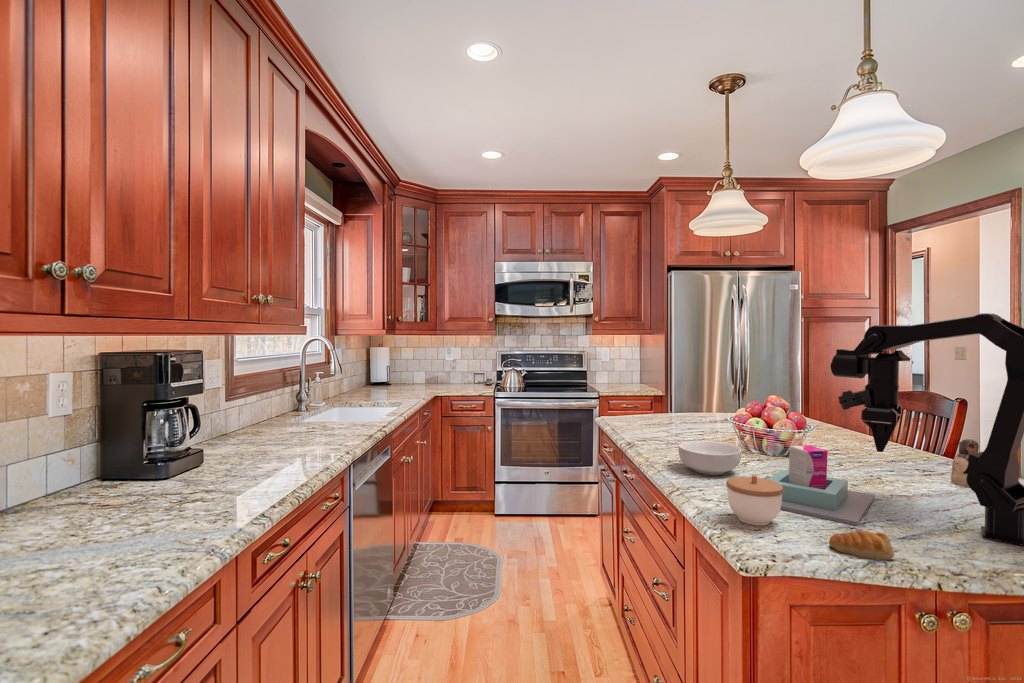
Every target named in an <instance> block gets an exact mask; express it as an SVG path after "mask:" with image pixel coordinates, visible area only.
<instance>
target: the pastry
mask: <svg viewBox="0 0 1024 683" xmlns="http://www.w3.org/2000/svg"><path fill="white" fill-rule="evenodd" d="M828 545H829V546H830V547H832V548H833V549H834V550H836V551H838V552H840V553H843V554H848V555H852V556H856V557H859V558H860V557H861V558H868V559H875V560H884V561H891V560H893V558H894V557H895V553H894V548H893V546H892V544H891V539H890V537H889V536H888V535H887V534H886V533H885V532H884V533H883V532H879V531H878V532H872V531H871V532H870V531H868V530H866V531H864V530H856V531H850V532H841V533H838V534H833V535H832V536H831V537H830V538H829V540H828Z"/></svg>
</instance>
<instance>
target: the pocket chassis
mask: <svg viewBox="0 0 1024 683" xmlns="http://www.w3.org/2000/svg"><path fill="white" fill-rule="evenodd" d="M762 479H767V480H771V481H774V482H776V483H779V484H780V485H782V487H783V493H782V505H781V509H780V511H785V512H790V513H795V514H800V515H803V516H804V515H805V516H809V517H814V518H818V519H822V520H828V521H833V522H837V523H841V524H847V525H852V526H855V527H858V526H859V525H860V524H861V521H862V519H863V518H864V517H865V515H866V513H867V512H866V511H868V510H869V508H870V507H871V505H872V504H873V502H874V500H875V499H874V498H876V495H875V494H872V493H867V492H862V491H861V492H860V491H855V490H849V488H848V487H849V481H848V480H847V479H842V478H841V479H840V478H835V477H827V481H826V489H825V490H824V489H818V488H812V487H807V486H801V485H796V484H790V483H789V470H786V469H780V470H779V471H777V472H776V473H773V475H771V476H770V475H769V476H768V475H766V476H764V477H763V478H762ZM871 503H872V504H871ZM869 506H870V507H869Z"/></svg>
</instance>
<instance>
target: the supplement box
mask: <svg viewBox="0 0 1024 683" xmlns="http://www.w3.org/2000/svg"><path fill="white" fill-rule="evenodd" d="M828 454H829V452H828V450H826V449H823V448H819V447H817V446H813V445H811V444H810V445H790V446H789V457H788V458H789V459H788V460H789V462H788V471H789V483H790V484H796V485H801V486H807V487H812V488H818V489H824V490H825V489H826V481H827V476H828V475H827V474H828V473H827V472H828Z"/></svg>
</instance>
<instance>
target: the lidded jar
mask: <svg viewBox="0 0 1024 683" xmlns="http://www.w3.org/2000/svg"><path fill="white" fill-rule="evenodd" d="M726 491H727V492H726V495H727V501H728V504H729V507H730V510H731V511H732V512H733V514H734V515H735V516H736V517H737V519H738V520H739V521H740V522H742V523H744V524H748V525H753V526H768V525H770V524H771V522H772V521H773V520H774V519H776V518H777V517H778V515H779V513H780V511H781V510H780V509H781V505H782V493H783V487H782V485H780V484H779V483H776V482H774V481H771V480H767V479H763V478H762V477H758V475H756V474H755V475H754V474H752V475H751V476H735V477H733V476H732V477H730V478H728V479H727V480H726Z"/></svg>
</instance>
